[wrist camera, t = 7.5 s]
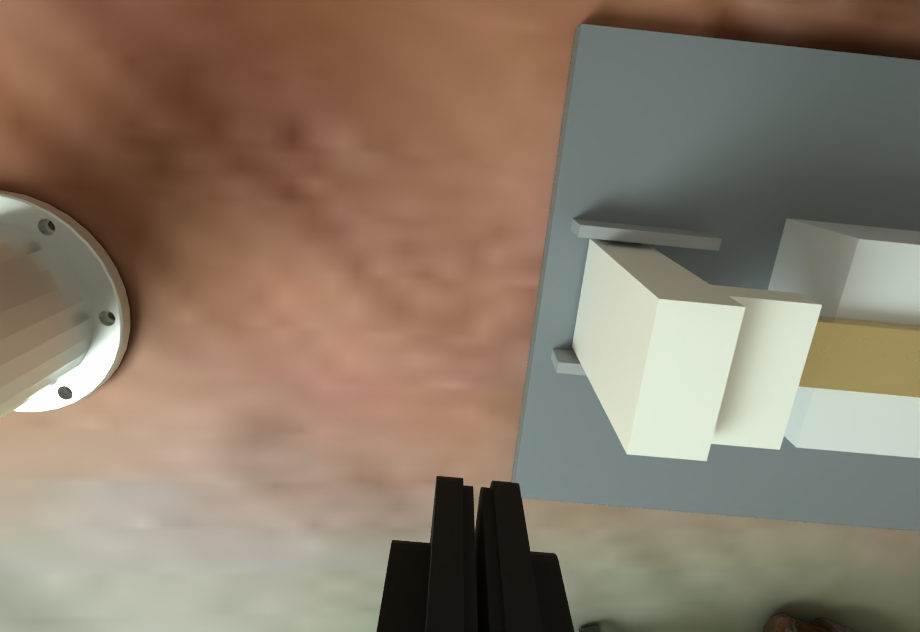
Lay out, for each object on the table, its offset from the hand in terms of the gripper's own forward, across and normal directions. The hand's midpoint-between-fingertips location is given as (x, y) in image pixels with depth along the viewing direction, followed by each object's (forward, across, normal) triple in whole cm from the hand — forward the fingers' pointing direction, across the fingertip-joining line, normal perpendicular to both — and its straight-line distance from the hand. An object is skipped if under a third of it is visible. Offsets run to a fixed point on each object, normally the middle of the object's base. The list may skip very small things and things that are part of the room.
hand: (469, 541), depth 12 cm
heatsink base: (+22, -20, 0) cm, 30 cm away
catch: (+21, -9, 0) cm, 23 cm away
